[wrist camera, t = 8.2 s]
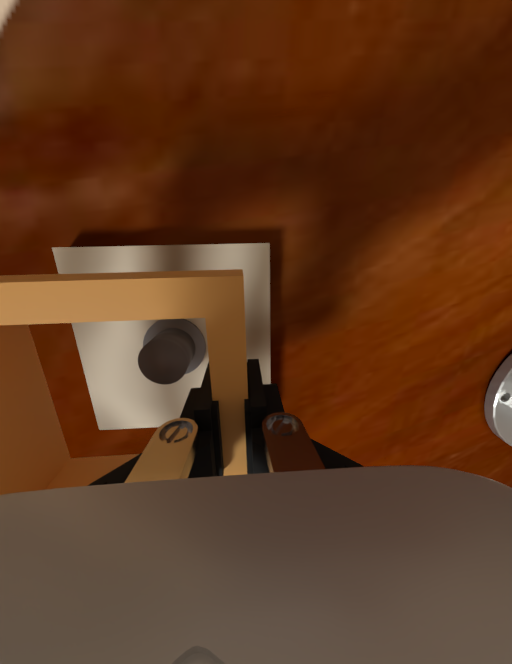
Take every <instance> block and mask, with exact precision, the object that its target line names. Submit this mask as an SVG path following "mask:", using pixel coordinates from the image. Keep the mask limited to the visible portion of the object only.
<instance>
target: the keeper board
mask: <svg viewBox="0 0 512 664" xmlns="http://www.w3.org/2000/svg"><path fill="white" fill-rule="evenodd" d="M52 250H53V253H54V257H55V261H56V265H57V269H58V273H59V274H81V273H119V272H156V271H194V270H231V269H243V276H244V301H245V328H246V355H247V362H248V359H259V364H260V370H261V376H262V382H263V384H271V370H270V243H245V244H199V245H152V246H106V247H60V248H52ZM72 327H73V331H74V334H75V338H76V342H77V346H78V350H79V354H80V358H81V361H82V365H83V369H84V373H85V377H86V381H87V385H88V389H89V392H90V396H91V400H92V404H93V408H94V412H95V416H96V419H97V423H98V427H99V430H109V429H129V428H148V427H160V426H161V425H163V424H164V423H166V422H168V421H170V420H173V419H176V418H180V415H181V413H182V410H183V407H184V405H185V402H186V400H187V397H188V394H189V392H190V389H191V388H200V387H201V384H202V381H203V378H204V375H205V371H206V368H207V365H208V362H209V355H208V344H207V333H206V321H205V318H187V319H160V320H132V321H105V322H78V323H72Z"/></svg>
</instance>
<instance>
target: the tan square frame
mask: <svg viewBox="0 0 512 664" xmlns="http://www.w3.org/2000/svg"><path fill="white" fill-rule="evenodd" d="M187 318H205V321H206V333H207V344H208V355H209V367H210V378H211V389H212V400H213V401H218V400H219V413H220V425H221V438H222V450H223V463H224V475H223V476H229V475H244V474H247V456H246V433H245V409H244V399H248V381H247V355H246V328H245V301H244V276H243V269H231V270H194V271H156V272H119V273H81V274H44V275H6V276H0V495H2V494H8V493H16V492H26V491H35V490H45V489H54V488H67V487H80V486H87V485H89V484H90V483H92V482H94V481H96V480H97V479H99V478H101V477H102V476H104V475H106V474H107V473H109V472H111V471H112V470H114V469H116V468H117V467H119V466H121V465H122V464H124V463H126V462H127V461H129V460H131V459H132V458H134V457H136V456H138V455H139V454H132V455H117V456H101V457H86V458H70V455H69V452H68V449H67V445H66V442H65V439H64V436H63V433H62V430H61V427H60V423H59V420H58V417H57V414H56V411H55V408H54V405H53V401H52V398H51V395H50V392H49V389H48V386H47V383H46V379H45V376H44V373H43V370H42V367H41V364H40V361H39V357H38V354H37V351H36V348H35V345H34V342H33V339H32V335H31V332H30V329H29V326H28V324H51V323H78V322H105V321H132V320H160V319H187Z"/></svg>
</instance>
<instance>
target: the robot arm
mask: <svg viewBox="0 0 512 664" xmlns="http://www.w3.org/2000/svg"><path fill="white" fill-rule="evenodd" d="M247 381H248V399H244V409H245V433H246V456H247V474H244V475H229V476H223V475H224V463H223V450H222V438H221V425H220V413H219V400H218V401H213V400H212V389H211V378H210V367H209V362H208V365H207V368H206V371H205V375H204V378H203V381H202V384H201V387H200V388H191V389H190V392H189V394H188V397H187V400H186V402H185V405H184V407H183V410H182V413H181V415H180V418H176V419H173V420H170V421H168V422H166V423H164V424H163V425H161V426H160V427H159V428H158V429H157V430H156V432H155V433H154V435H153V437H152V438H151V440H150V441H149V443H148V445H147V446H146V448H145V450H144V451H143V453H141V454H139V455H138V456H136V457H134V458H132V459H131V460H129V461H127V462H126V463H124V464H122V465H121V466H119V467H117V468H116V469H114V470H112V471H111V472H109V473H107V474H106V475H104V476H102V477H101V478H99V479H97V480H96V481H94V482H92V483H90V484H89V485H87V486H80V487H67V488H54V489H45V490H35V491H26V492H16V493H8V494H2V495H0V664H512V488H510V487H508V486H506V485H504V484H502V483H500V482H497V481H494V480H491V479H489V478H486V477H482V476H479V475H476V474H472V473H468V472H463V471H459V470H455V469H449V468H441V467H434V466H417V465H398V466H368V467H364V466H362V465H360V464H358V463H356V462H354V461H353V460H351V459H349V458H347V457H345V456H343V455H341V454H339V453H337V452H335V451H333V450H331V449H329V448H328V447H326V446H324V445H322V444H320V443H318V442H316V441H314V440H312V439H310V437H309V435H308V433H307V431H306V429H305V427H304V425H303V423H302V422H301V420H300V419H299V418H298V417H296V416H295V415H292V414H290V413H285V412H284V409H283V405H282V402H281V398H280V394H279V391H278V387H277V384H263V382H262V376H261V370H260V364H259V359H248V362H247ZM484 409H485V418H486V420H487V423H488V426H489V427H490V429H491V430H492V431H493V433H494V434H495V435H497V436H498V437H499V438H500V439H502V440H503V441H505V442H506V443H508V444H509V445H511V446H512V354H511V355H510V356H509V357H508V358H507V359H506V360H505V361H504V362H503V363H502V365H501V366H500V367H499V368H498V370H497V371H496V373H495V375H494V376H493V378H492V380H491V382H490V384H489V387H488V390H487V393H486V397H485V404H484Z"/></svg>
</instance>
